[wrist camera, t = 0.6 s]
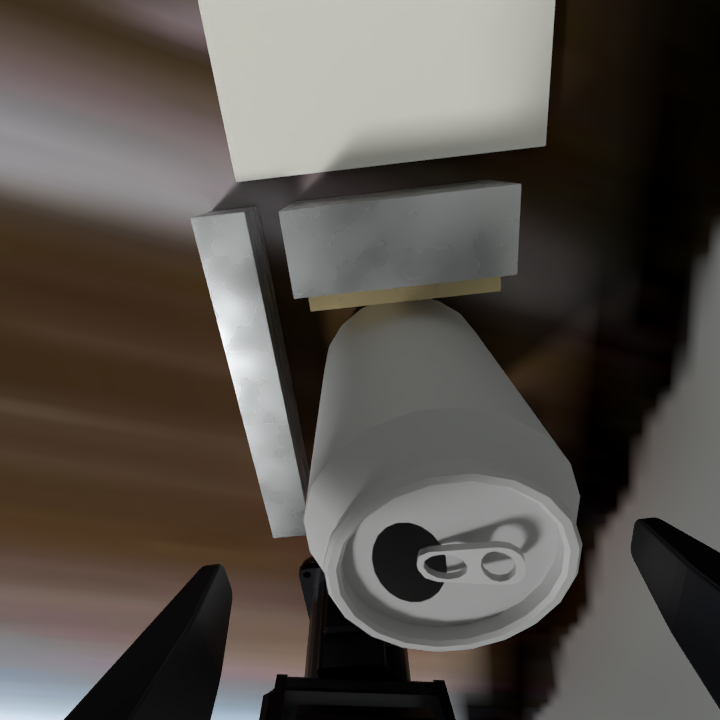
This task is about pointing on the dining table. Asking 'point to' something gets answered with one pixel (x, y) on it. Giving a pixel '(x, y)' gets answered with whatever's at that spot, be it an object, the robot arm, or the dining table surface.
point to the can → (435, 486)
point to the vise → (340, 292)
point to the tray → (377, 80)
